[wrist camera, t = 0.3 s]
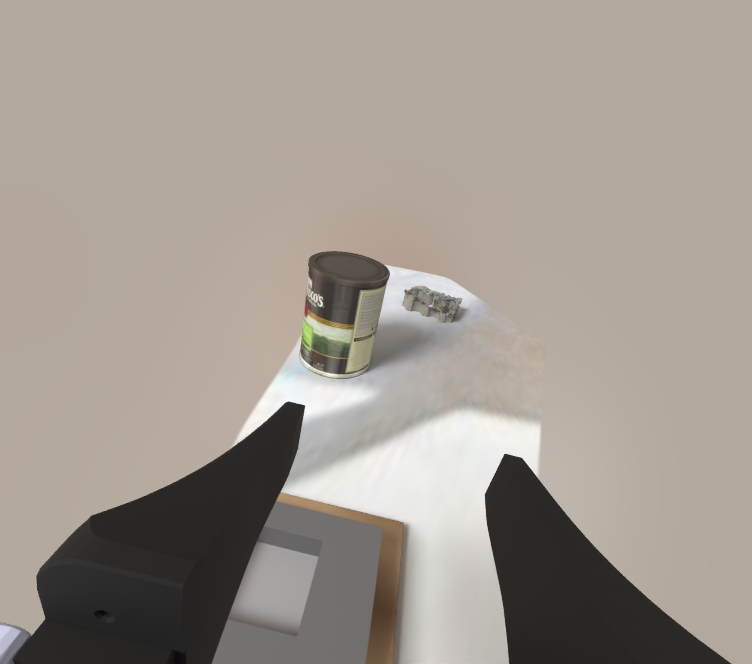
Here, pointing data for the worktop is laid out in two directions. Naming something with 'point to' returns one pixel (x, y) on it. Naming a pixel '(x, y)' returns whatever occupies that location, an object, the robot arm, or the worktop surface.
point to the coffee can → (341, 313)
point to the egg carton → (423, 297)
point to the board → (386, 579)
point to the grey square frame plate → (304, 592)
